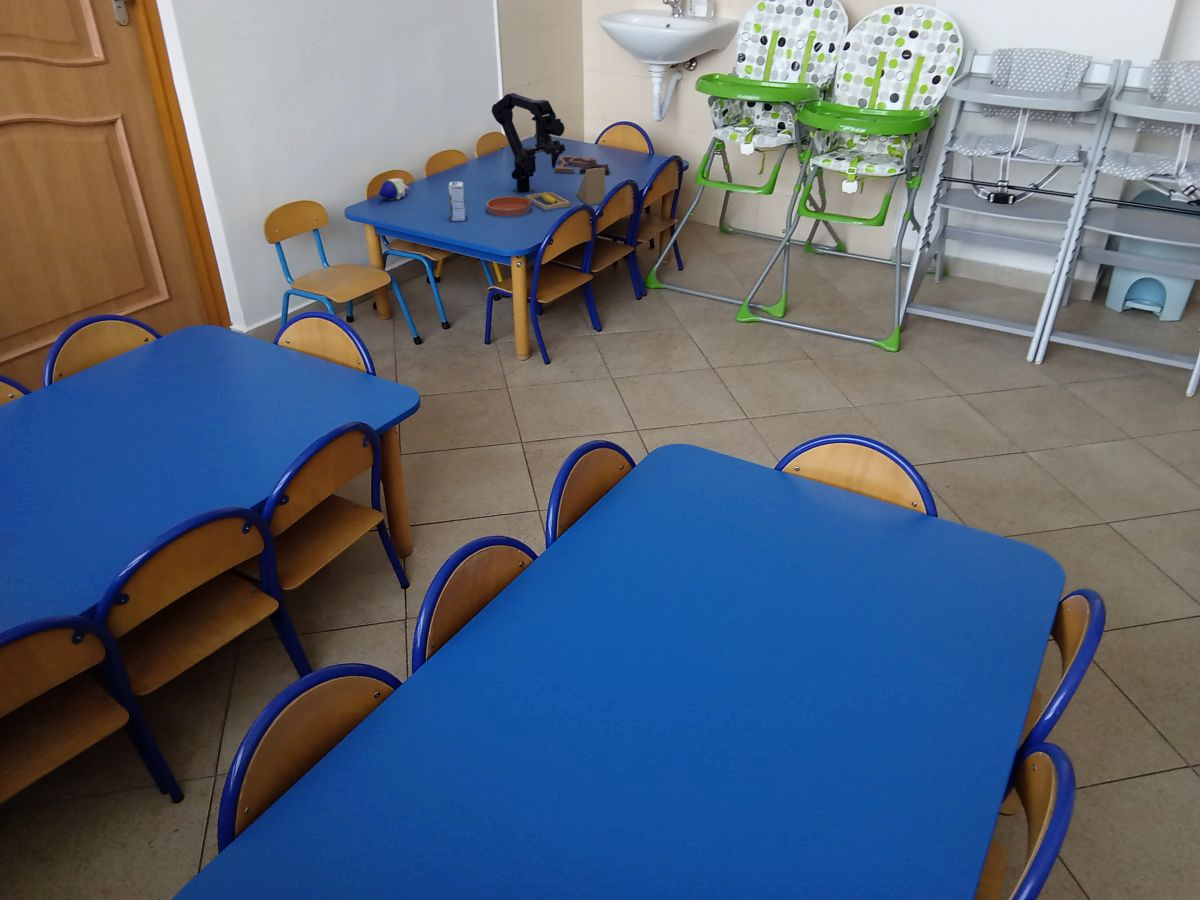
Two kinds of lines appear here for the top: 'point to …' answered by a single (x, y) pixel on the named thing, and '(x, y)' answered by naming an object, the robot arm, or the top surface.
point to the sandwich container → (592, 186)
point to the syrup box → (457, 201)
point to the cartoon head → (393, 189)
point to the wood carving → (578, 164)
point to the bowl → (508, 206)
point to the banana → (548, 198)
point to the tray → (560, 203)
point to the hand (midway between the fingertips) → (544, 169)
